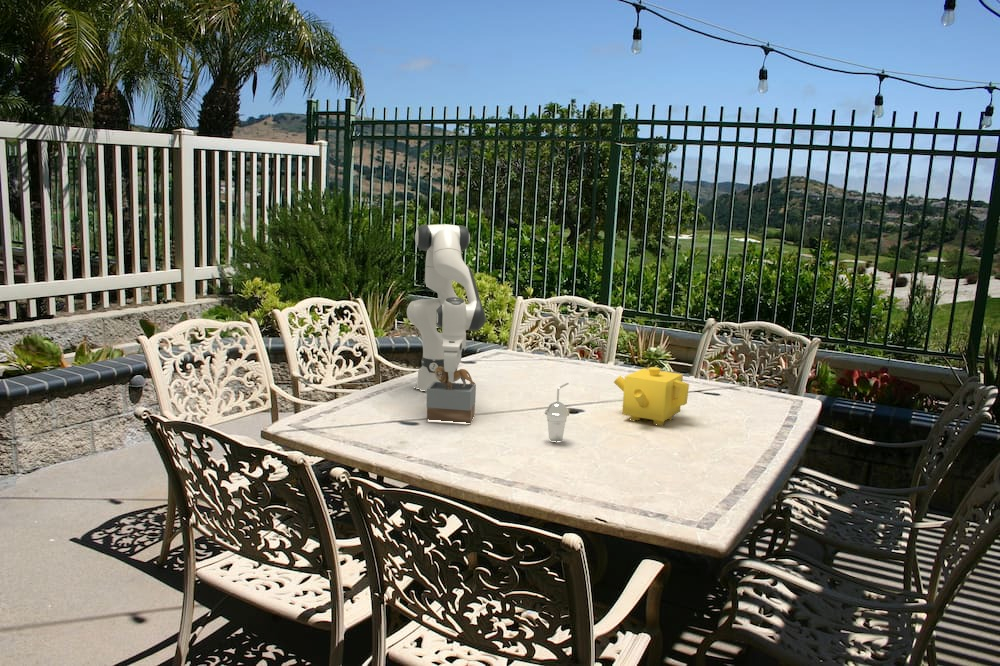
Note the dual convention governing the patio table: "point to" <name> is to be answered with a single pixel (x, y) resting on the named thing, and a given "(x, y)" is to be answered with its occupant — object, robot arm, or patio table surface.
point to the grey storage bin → (451, 396)
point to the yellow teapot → (652, 394)
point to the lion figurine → (461, 373)
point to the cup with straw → (556, 418)
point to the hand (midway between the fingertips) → (452, 379)
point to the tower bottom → (451, 414)
